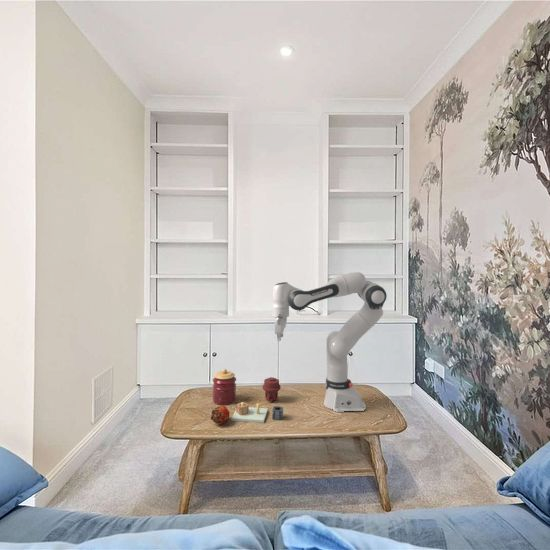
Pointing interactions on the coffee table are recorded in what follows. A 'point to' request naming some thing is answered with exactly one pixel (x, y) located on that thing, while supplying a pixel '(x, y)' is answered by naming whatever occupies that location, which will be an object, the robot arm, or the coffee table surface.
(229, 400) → the canister
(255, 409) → the gear board
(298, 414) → the coffee table surface
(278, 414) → the loose gear
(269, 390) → the mechanical component
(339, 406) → the robot arm
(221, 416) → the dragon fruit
